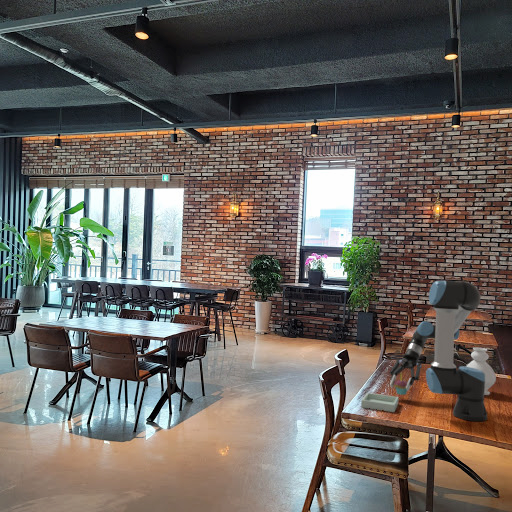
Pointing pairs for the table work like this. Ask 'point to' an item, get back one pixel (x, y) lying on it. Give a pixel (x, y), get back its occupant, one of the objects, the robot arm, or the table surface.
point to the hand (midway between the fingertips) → (398, 387)
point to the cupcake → (400, 386)
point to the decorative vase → (483, 367)
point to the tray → (379, 402)
